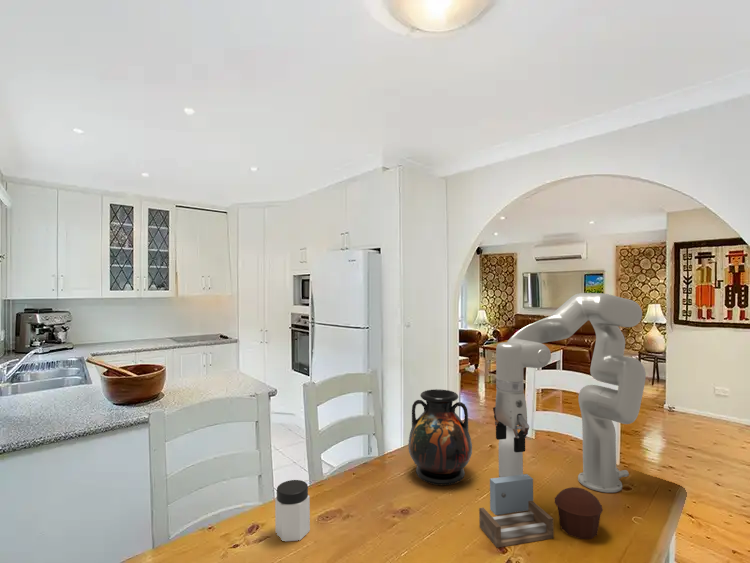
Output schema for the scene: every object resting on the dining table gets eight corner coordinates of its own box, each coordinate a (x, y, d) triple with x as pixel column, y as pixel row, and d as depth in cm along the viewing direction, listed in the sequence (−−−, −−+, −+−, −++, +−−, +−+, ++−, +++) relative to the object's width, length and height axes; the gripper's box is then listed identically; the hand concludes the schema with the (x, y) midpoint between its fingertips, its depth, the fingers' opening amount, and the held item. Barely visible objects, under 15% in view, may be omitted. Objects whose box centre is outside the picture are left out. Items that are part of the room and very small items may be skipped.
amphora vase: (403, 487, 132) (402, 400, 132) (413, 459, 153) (412, 384, 153) (472, 494, 127) (471, 404, 127) (472, 465, 147) (471, 387, 148)
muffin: (575, 545, 101) (575, 505, 101) (545, 521, 112) (544, 484, 112) (613, 537, 105) (613, 497, 105) (580, 514, 115) (580, 478, 115)
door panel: (527, 504, 121) (526, 474, 121) (534, 510, 117) (533, 479, 117) (490, 509, 118) (489, 478, 118) (496, 516, 115) (495, 484, 115)
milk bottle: (524, 485, 132) (523, 423, 132) (500, 483, 134) (499, 422, 134) (521, 474, 140) (520, 415, 140) (497, 472, 141) (497, 414, 141)
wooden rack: (532, 518, 113) (532, 500, 113) (553, 538, 104) (553, 518, 104) (479, 526, 110) (479, 508, 110) (496, 547, 101) (496, 527, 101)
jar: (310, 522, 113) (310, 478, 113) (308, 540, 104) (308, 493, 105) (277, 524, 112) (277, 480, 112) (273, 543, 104) (272, 495, 104)
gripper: (539, 392, 111) (539, 456, 110) (505, 378, 128) (505, 433, 127) (514, 393, 109) (514, 458, 109) (483, 379, 126) (483, 435, 126)
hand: (510, 445), depth 118 cm, fingers open, 9 cm apart
